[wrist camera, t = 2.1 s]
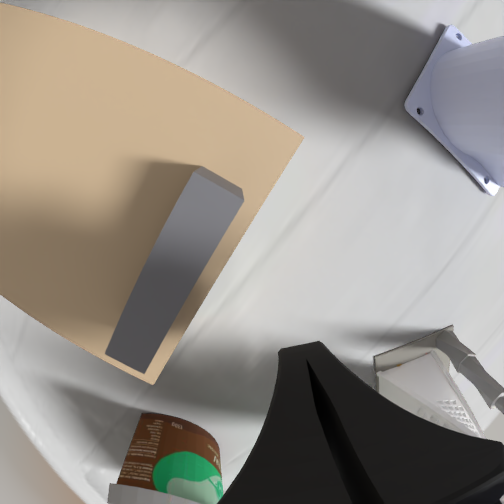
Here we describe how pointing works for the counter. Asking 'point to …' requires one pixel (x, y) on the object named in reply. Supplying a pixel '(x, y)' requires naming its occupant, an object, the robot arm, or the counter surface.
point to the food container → (169, 464)
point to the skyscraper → (436, 381)
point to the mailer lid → (121, 186)
